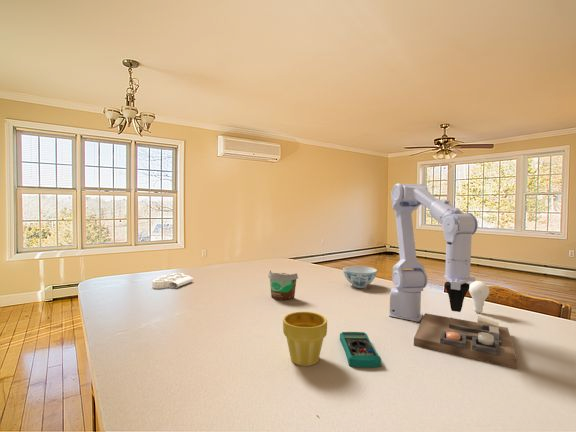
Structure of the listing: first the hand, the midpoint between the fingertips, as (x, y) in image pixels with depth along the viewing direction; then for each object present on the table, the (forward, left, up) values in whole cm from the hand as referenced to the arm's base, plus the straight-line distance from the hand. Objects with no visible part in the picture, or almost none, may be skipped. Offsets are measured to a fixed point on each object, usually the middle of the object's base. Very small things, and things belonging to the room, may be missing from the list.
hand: (456, 310), depth 82 cm
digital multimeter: (-20, -17, -10) cm, 29 cm away
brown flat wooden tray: (+2, +5, -9) cm, 11 cm away
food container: (-60, +9, -10) cm, 62 cm away
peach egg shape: (0, -3, -7) cm, 8 cm away
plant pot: (-30, -28, -10) cm, 42 cm away
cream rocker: (+8, +12, -6) cm, 16 cm away
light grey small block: (+9, +4, -7) cm, 12 cm away
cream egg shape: (+7, -3, -6) cm, 9 cm away
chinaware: (-40, +45, -10) cm, 61 cm away
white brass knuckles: (-113, +1, -10) cm, 114 cm away
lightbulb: (+6, +33, -10) cm, 35 cm away
